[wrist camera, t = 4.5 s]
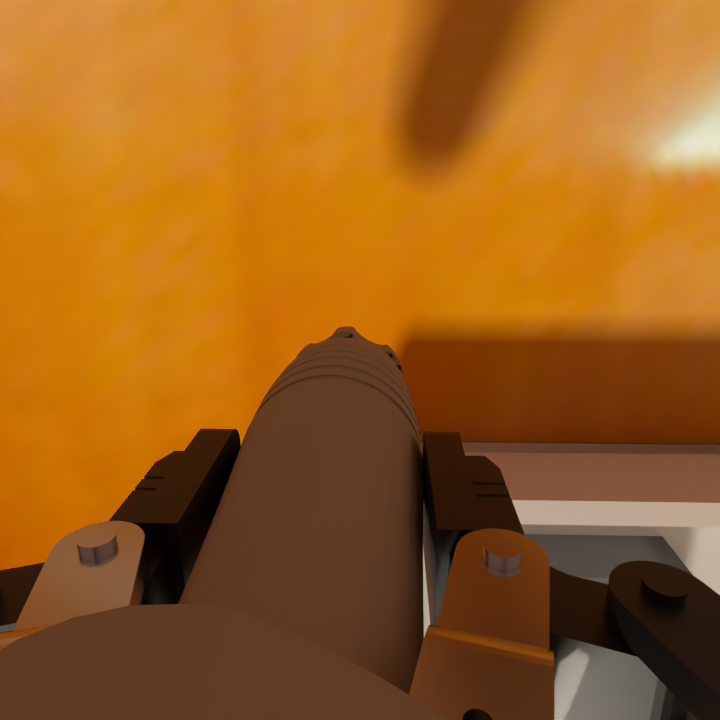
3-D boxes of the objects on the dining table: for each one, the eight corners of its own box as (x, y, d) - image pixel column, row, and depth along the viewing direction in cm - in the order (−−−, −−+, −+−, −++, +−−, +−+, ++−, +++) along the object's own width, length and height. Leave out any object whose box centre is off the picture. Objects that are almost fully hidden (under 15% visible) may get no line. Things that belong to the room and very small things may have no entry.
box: (359, 441, 26) (353, 497, 22) (769, 445, 26) (857, 504, 21) (362, 747, 32) (358, 848, 27) (704, 758, 31) (763, 864, 26)
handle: (365, 244, 17) (249, 628, 3) (466, 422, 19) (724, 1254, 4) (228, 323, 18) (-389, 918, 4) (336, 486, 19) (193, 1347, 5)
